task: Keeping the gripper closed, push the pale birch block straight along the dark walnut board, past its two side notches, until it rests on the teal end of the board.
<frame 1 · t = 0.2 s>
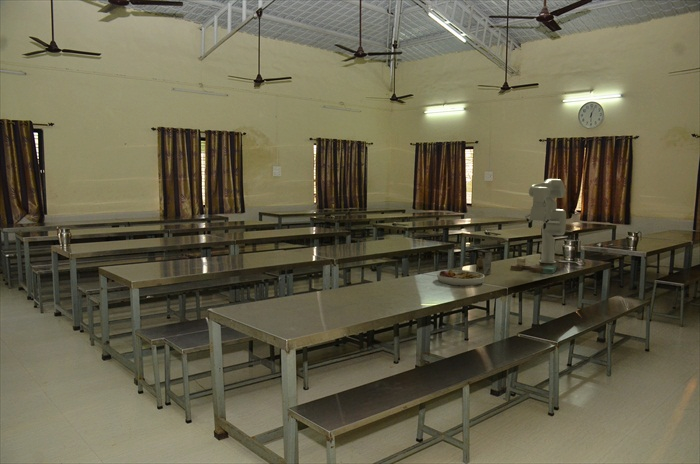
hand: (537, 228, 381), 31 cm above the table, tool pointing down, fingers open, 9 cm apart
coffee box: (483, 273, 373), on the table
bowl: (460, 282, 342), on the table
birch block: (521, 264, 392), point 3 cm above the table, touching trap board
trap board: (533, 269, 388), on the table
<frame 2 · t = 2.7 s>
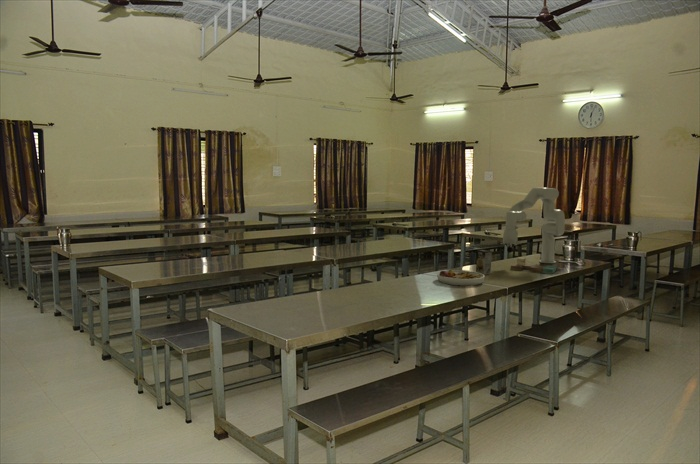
hand: (509, 252, 395), 11 cm above the table, tool pointing down, fingers closed
nothing on the table moved.
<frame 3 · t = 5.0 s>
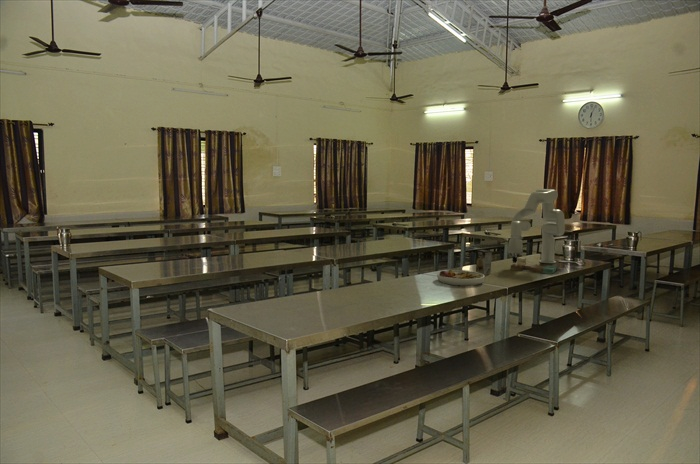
hand: (514, 262, 394), 4 cm above the table, tool pointing down, fingers closed
birch block: (521, 264, 392), point 3 cm above the table, touching gripper
everything else where it was.
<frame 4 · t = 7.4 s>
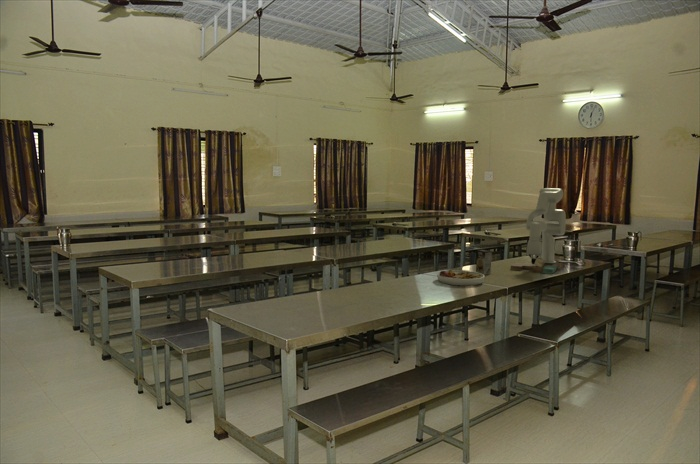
hand: (533, 264, 387), 4 cm above the table, tool pointing down, fingers closed
birch block: (538, 265, 385), point 4 cm above the table, tilted 19°, touching gripper, trap board
everything else where it was.
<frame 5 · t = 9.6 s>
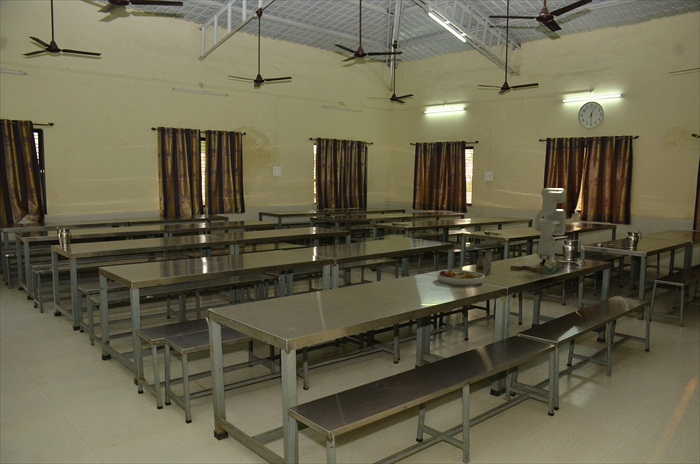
hand: (544, 265, 383), 4 cm above the table, tool pointing down, fingers closed
birch block: (548, 266, 380), point 4 cm above the table, tilted 19°, touching gripper, trap board
everything else where it was.
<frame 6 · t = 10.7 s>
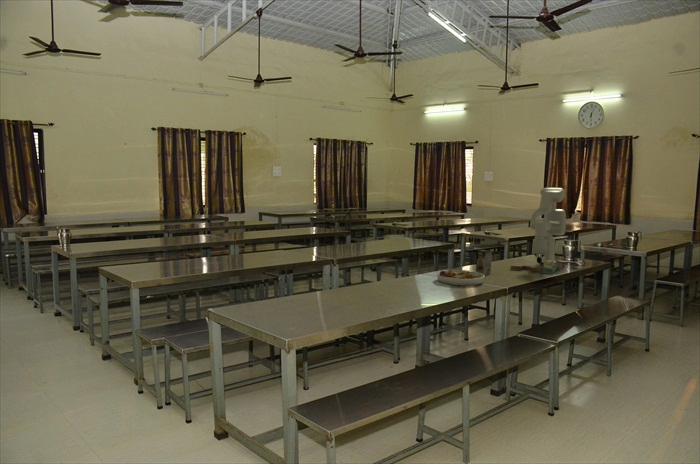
hand: (539, 263, 386), 5 cm above the table, tool pointing down, fingers closed
birch block: (548, 267, 381), point 3 cm above the table, touching trap board
everything else where it was.
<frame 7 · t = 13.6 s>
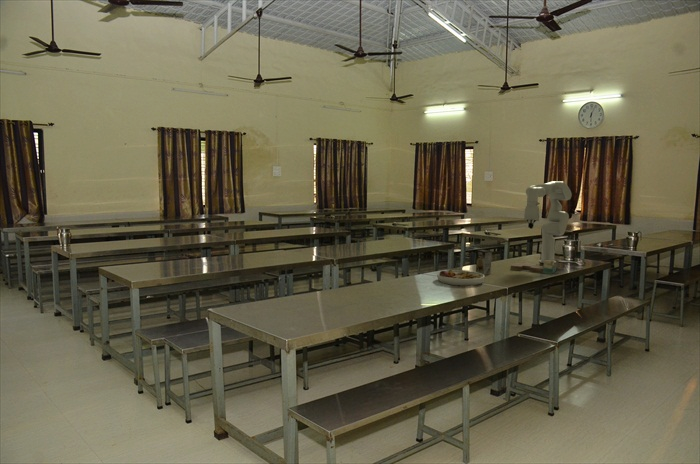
hand: (531, 228, 398), 29 cm above the table, tool pointing down, fingers closed
nothing on the table moved.
at the end: birch block inside the target area on the trap board (1.9 cm from its centre), point 3.0 cm above the trap board's base; birch block tilted 0° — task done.
